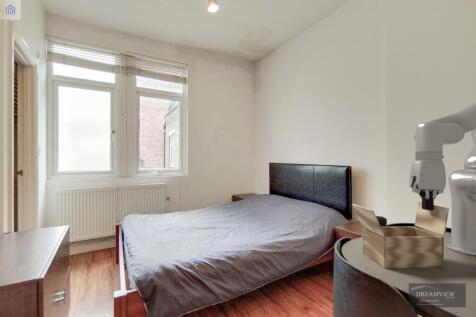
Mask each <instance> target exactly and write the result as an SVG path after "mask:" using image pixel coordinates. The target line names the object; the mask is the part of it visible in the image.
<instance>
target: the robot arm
mask: <svg viewBox="0 0 476 317" xmlns="http://www.w3.org/2000/svg"><path fill="white" fill-rule="evenodd" d="M466 133H470V135H471V138H472V141H473V146H472V148H471V150H470V152H469V153H468V154H467V156H466V158H465V161H464V163H463V169H458V170H453V171H452V172H451V173H450V174H449V176H448V186H449V191H450V195H451V196H450V198H451V199H450V200H451V221H450V222H451V225H450V226H451V228H450V229H451V230H450V231H451V232H450V234H451V239H450V241H447V242H446V243H445V246H446V247H447V248H448V249H449V250H452V251H454V252H458V253H462V254H465V255H470V256H476V103H472V104H470V105H468V106H467V107H464V108H463V109H460V110H459V111H457V112H455V113H451V114H448V115H446V116H443V117H440V118H437V119H433V120H430V121H427V122H421V123H418V124H417V125H416V127H415V132H414V135H413V139H414V141H415V149H414V150H415V155H414V156H415V157H414V158H415V159H414V160H415V161H412V163H411V167H410V172H409V188H411V189H412V190H411V192H412V193H415V194H418V196H419V197H420V198H421V202H422V209H424V210H431V211H433V210H434V205H435V202H434V201H435V199H437V196H438V195H440V194H443V193H445V192H444V190H445V189H446V186H447V174H446V168H445V162H444V161H443V159H444V158H445V155H444V154H443V151H444V145H455V144H458V143H460V142H462V141H463V139H464V138H465V134H466Z"/></svg>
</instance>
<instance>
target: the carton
mask: <svg viewBox="0 0 476 317" xmlns="http://www.w3.org/2000/svg"><path fill="white" fill-rule="evenodd" d="M381 229H382V231H383V233H384V235H385V236H381V235H379V234H377V233H375V232H373V231H371V230H369V229H367V228H365V227H362V233H363V234H362V255H364V256H365V257H367V258H369V259H370V260H371V261H373V262H374V263H376V264H377V265H379V266H380V267H382V268H384V269H386V270H387V269H391V270H392V269H432V268H434V269H435V268H438V269H441V268H444V260H445V259H444V256H445V255H444V254H445V252H444V250H445V249H444V247H445V242H444V240H445V239H444V238H445V236H444V235H441V234H438V233H435V232H432V231H431V232H430V231H429V230H426V229H424V228H421V227H418V226H387V227H381Z"/></svg>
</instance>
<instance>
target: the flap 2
mask: <svg viewBox="0 0 476 317" xmlns="http://www.w3.org/2000/svg"><path fill="white" fill-rule="evenodd" d="M449 211H450V208H449V207H445V206H440V205H435V204H434V210H433V211H431V210H424V209H422V201H418V203H417V208H416V214H415V221H414V227H417V228H420V229H423V230H426V231H429V232H430V231H431V232H432V233H435V234H437V235H440V236H445V235H446V231H447V230H446V229H447V225H448V224H447V223H448V217H449Z"/></svg>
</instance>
